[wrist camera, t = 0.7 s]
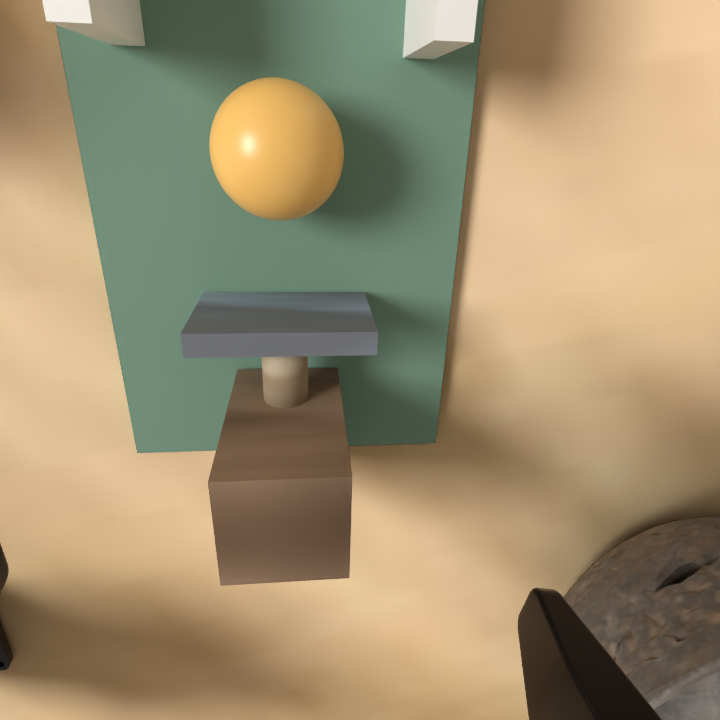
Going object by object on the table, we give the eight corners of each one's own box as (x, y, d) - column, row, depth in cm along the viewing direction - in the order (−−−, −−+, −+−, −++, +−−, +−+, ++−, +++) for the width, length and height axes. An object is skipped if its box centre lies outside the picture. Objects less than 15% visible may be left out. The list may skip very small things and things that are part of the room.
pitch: (432, 436, 24) (435, 443, 23) (140, 446, 22) (137, 452, 22) (499, -179, 15) (505, -189, 14) (16, -225, 13) (6, -237, 13)
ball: (339, 210, 18) (347, 233, 15) (225, 208, 18) (205, 232, 14) (340, 83, 17) (350, 75, 13) (214, 78, 16) (189, 68, 13)
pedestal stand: (359, 448, 23) (380, 576, 16) (220, 452, 22) (187, 587, 16) (364, 291, 20) (393, 375, 13) (203, 292, 19) (153, 380, 13)
